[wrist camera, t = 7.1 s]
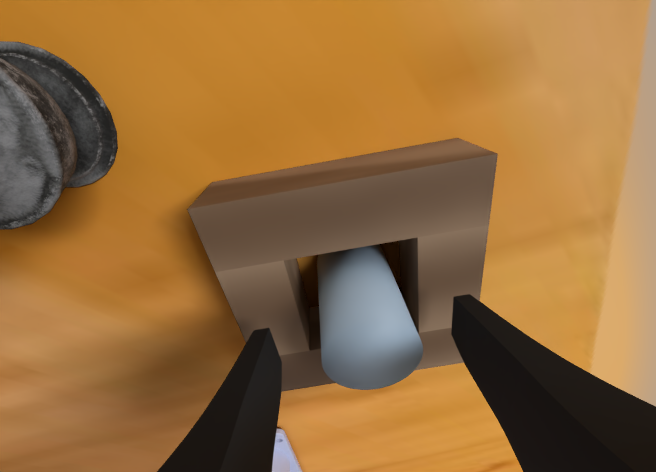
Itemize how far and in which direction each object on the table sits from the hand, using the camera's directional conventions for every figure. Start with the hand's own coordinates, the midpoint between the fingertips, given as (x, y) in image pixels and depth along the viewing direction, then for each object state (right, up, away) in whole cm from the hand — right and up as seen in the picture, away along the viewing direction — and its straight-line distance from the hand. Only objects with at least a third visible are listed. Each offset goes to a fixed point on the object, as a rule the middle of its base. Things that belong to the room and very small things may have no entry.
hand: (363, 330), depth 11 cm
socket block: (0, +2, +4) cm, 5 cm away
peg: (0, +2, +4) cm, 5 cm away
